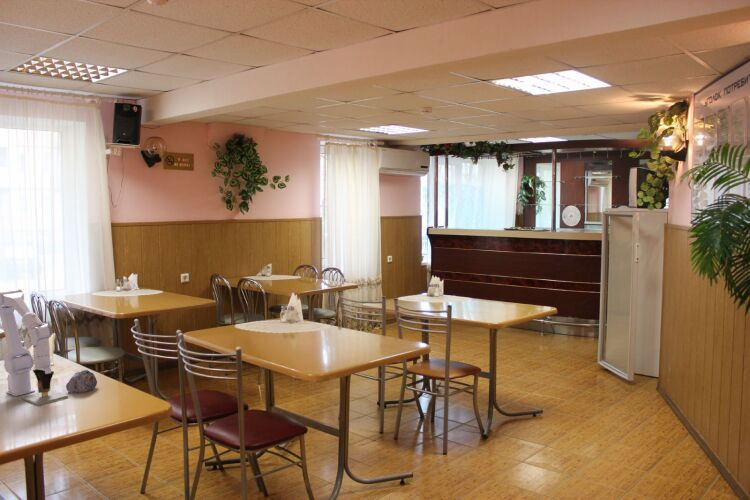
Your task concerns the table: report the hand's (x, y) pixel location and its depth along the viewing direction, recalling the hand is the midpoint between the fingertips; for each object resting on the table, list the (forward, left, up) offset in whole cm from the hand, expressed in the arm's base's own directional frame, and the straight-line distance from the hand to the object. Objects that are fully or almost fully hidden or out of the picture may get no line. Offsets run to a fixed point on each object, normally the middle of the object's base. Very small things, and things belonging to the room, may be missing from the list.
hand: (44, 387), depth 255 cm
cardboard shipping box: (0, 0, -1) cm, 1 cm away
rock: (+2, +14, -5) cm, 15 cm away
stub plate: (0, 0, -5) cm, 5 cm away
